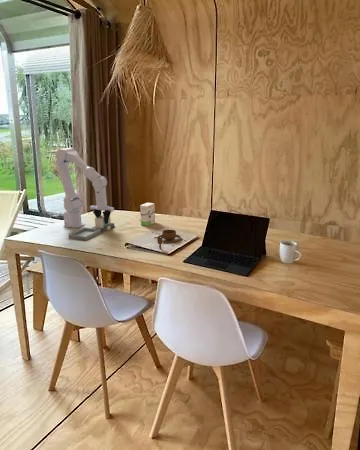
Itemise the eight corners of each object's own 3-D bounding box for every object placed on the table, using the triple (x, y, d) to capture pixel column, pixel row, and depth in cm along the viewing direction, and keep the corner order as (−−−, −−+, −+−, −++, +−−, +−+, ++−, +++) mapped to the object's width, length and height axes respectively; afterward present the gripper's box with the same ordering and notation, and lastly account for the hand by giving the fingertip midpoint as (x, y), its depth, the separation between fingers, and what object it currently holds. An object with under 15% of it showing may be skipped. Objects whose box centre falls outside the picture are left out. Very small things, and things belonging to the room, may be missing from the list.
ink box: (148, 226, 209) (147, 206, 206) (140, 225, 211) (139, 205, 208) (155, 222, 217) (154, 202, 213) (148, 221, 219) (147, 202, 215)
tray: (69, 238, 191) (68, 234, 190) (85, 230, 202) (84, 227, 202) (85, 240, 186) (85, 236, 186) (101, 232, 198) (101, 229, 198)
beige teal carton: (95, 230, 203) (94, 218, 201) (105, 226, 211) (104, 214, 208) (101, 231, 201) (100, 218, 199) (111, 226, 209) (110, 214, 207)
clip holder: (91, 231, 202) (91, 227, 201) (104, 225, 212) (103, 222, 212) (103, 232, 199) (102, 228, 199) (114, 226, 210) (114, 223, 209)
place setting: (190, 241, 184) (190, 230, 182) (160, 251, 170) (160, 239, 169) (166, 234, 196) (166, 223, 194) (137, 243, 182) (136, 232, 181)
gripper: (85, 199, 200) (87, 223, 204) (108, 201, 195) (110, 226, 199) (93, 197, 206) (95, 220, 210) (115, 198, 201) (117, 222, 205)
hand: (103, 222), depth 205 cm, fingers closed on beige teal carton, 4 cm apart
